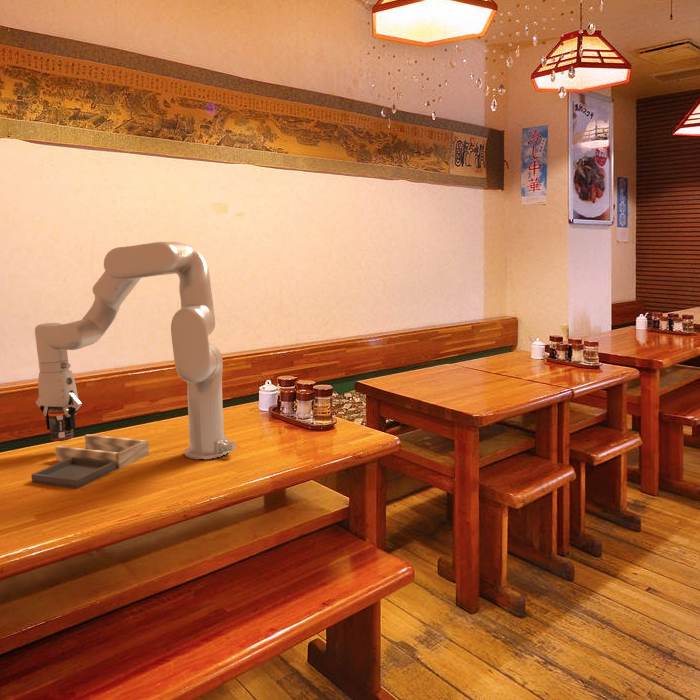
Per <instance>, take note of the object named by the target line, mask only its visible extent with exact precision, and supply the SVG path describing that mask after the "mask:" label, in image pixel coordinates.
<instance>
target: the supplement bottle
mask: <svg viewBox="0 0 700 700" xmlns="http://www.w3.org/2000/svg"><path fill="white" fill-rule="evenodd" d="M68 410H69V411H70V409H69V408H68ZM48 416H49V425H50V430H49V432H50V433H49V434H50V440H51V441H52V442H65V441H69V440H71V439H73V438H74V429H72V430H70V431H66V428H65V419H64V418H65V417H66V415H65V413H64V410H63V408H60V407H51V409H49V411H48Z"/></svg>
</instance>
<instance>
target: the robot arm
mask: <svg viewBox="0 0 700 700" xmlns="http://www.w3.org/2000/svg"><path fill="white" fill-rule="evenodd" d="M103 268H104V272H103V273H102V274H101V276H100V277H99V278H98V279H97V281H96V282H95V283H94V285H93V287H92V293H93V295H94V300H93V303H92V305H91V307H90V308H89V310H88V311H87V312H86V314H85V315H84V316H83V317H82V319H79V320H76V321H71V322H68V323H64V324H63V323H60V322H47V323H41V324H38V325H36V326H35V328H34V336H35V344H36V351H37V352H36V353H37V359H38V369H39V373H38V380H37V381H38V382H37V384H38V397H37V399H36V400H35V404H36V405H37V406H38V408H39V409H40V411H41V412H42V413H43V414H42V415H43V416H44V417H45V422H46V423H45V424H46V430H48V431H50V425H49V416H48V411H49V409H51V407H60V408H63V410H64V413H65V415H66V417H65V418H64V419H65V428H66V431H70V430H72V429H73V430H75V429H76V427H77V426H76V425H77V424H76V418H75V417H76V415H77V412H78V411H79V409H80V408H81V407H82V405H83V403H82V402H81V400H80V399H79V395H78V389H77V382H76V380H75V377H74V374H73V371H72V370H70V369H71V364H70V363H69V357H68V356H69V355H68V351H75V350H81V349H83V348H85V347H89V346H92V345H94V344H96V343H98V341H99V340H100V339H101V338H102V337H103V336H104V334H105V333H106V332H107V330H109V328H110V327H111V325H112V323H114V321H115V319H116V317H117V315H118V313H119V310H120V307H121V305H122V304H123V302H124V301H125V300H126V299H127V297H128V296H129V295H130V293H131V292H132V291H133V289H134V288H135V287H136V285H137V284H138V283H139V281H140V280H141V279H142V278H143V279H144V278H150V277H157V276H158V277H159V276H165V275H174V274H176V275H177V276H178V277H179V284H178V285H179V287H178V289H179V290H178V291H179V297H180V309H179V310H177V311H176V312H175V313H174V315H173V316H172V319H171V323H170V335H171V345H172V352H173V360H174V361H173V362H174V365H175V366H174V367H175V370H176V374H177V375H178V377H179V378H180V379H181V380H182V381H184V382H186V383H187V386H186V387H187V388H186V389H187V390H186V392H187V393H186V395H187V412H188V433H189V434H188V435H189V446H187V447H186V448H185V449H184V456H186V458H188V459H192V460H199V459H204V460H213V459H212V458H214V459H218V458H217V457H219V458H222V457H224V456H223V455H225V456H227V455H228V454H229V453H230V452H231V451H232V452H234V451H235V450H236V442H235V441H229V440H228V436H227V435H224V434H225V433H224V412H223V411H224V409H223V407H224V406H223V367H224V363H223V360H224V359H223V355H222V353H221V351H220V349H219V348H218V347H217V346H216V345H215V344H213V343H211V342H209V335H211V334H212V333H213V332H214V330H215V328H216V317H215V310H214V302H213V301H214V299H213V293H212V292H213V291H212V285H211V275H210V270H209V266H208V263H207V262H206V260H205V257H204V256H203V255H202V254H201V253H200V252H199V251H198V250H197V249H195V248H194V247H192V246H190V245H188V244H185V243H182V242H177V241H157V242H156V241H155V242H150V243H141V244H135V245H128V246H119V247H118V246H117V247H115V248H112V249H110V250H109V251H107V253H106V255H105V256H104V259H103ZM68 408H69V409H70V411H69V410H68ZM229 451H230V452H229ZM227 453H228V454H227ZM226 454H227V455H226ZM221 456H222V457H221Z"/></svg>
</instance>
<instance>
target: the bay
mask: <svg viewBox="0 0 700 700" xmlns="http://www.w3.org/2000/svg"><path fill="white" fill-rule="evenodd" d="M84 442H85V448H83V447H82V448H81V447H75V446H66V445H64V446H63V445H57V446H55V458H56V461H57V462H62V461H64V460H66V459H69V458H71V457H79V458H87V459H96V460H104V461H112V462H116V469H121V468H124V467H126V466H128V465H130V464H133V463H134V462H136V461H138V460H140V459H142V458H144V457H147V456H148V455H149V454H150V450H149V449H150V448H149V440H146V439H136V438H127V437H117V436H108V435H99V434H91V433H90V434H85V435H84ZM86 448H89V449H86ZM94 449H95V450H94Z"/></svg>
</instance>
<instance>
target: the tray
mask: <svg viewBox="0 0 700 700" xmlns="http://www.w3.org/2000/svg"><path fill="white" fill-rule="evenodd" d="M116 470H117V468H116V462H112V461H104V460H96V459H87V458H79V457H71V458H69V459H66V460H64V461H58V462H57V463H55V464H53V465H51V466H48V467H45V468H43V469H40V470H38V471H36V472H34V473H32V474H31V483H33V482H35V483H34V484H40V483H41V484H42V485H47V484H48V485H47V486H56V487H62V488H71V489H80V488H82V487H83V486H86V485H88V484H90V483H92V482H94V481H96V480H98V479H100V478H102V477H103V476H106V475H108V474H110V473H112V472H114V471H116ZM79 487H80V488H79Z"/></svg>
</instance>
